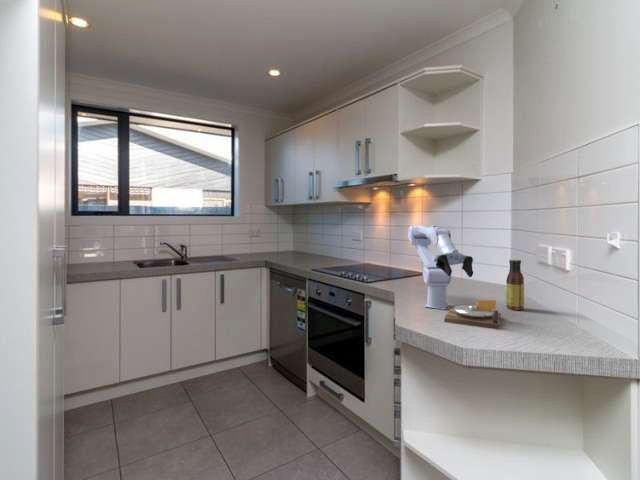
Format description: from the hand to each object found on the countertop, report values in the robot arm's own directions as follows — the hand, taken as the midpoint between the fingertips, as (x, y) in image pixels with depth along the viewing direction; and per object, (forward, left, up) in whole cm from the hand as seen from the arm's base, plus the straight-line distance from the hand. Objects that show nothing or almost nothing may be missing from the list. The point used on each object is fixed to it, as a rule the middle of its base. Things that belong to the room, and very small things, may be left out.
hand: (460, 274), depth 121 cm
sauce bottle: (-30, +17, -17) cm, 39 cm away
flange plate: (-5, +4, -14) cm, 16 cm away
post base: (-5, +4, -17) cm, 18 cm away
